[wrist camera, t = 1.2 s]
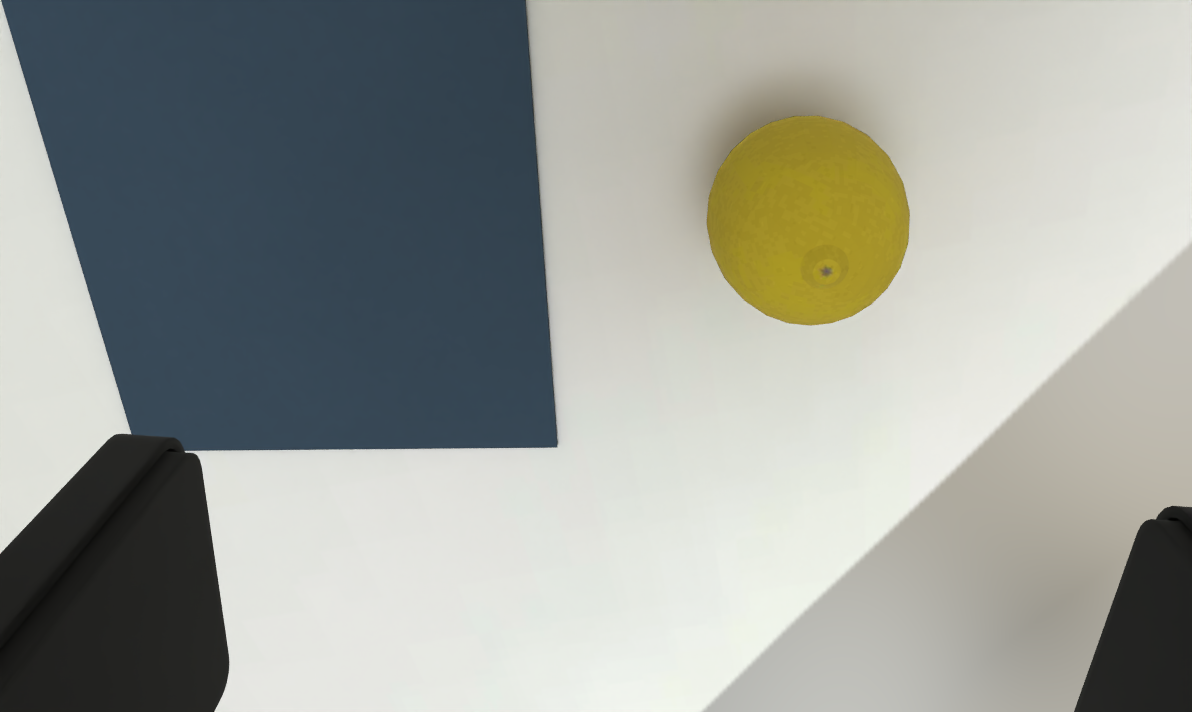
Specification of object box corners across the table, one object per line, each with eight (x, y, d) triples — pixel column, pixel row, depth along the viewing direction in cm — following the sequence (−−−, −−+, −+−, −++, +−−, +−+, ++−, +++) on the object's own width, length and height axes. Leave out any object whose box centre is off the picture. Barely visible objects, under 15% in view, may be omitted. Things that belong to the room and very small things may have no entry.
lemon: (899, 105, 31) (972, 185, 23) (849, 270, 33) (902, 387, 26) (721, 74, 30) (742, 145, 23) (685, 242, 33) (693, 352, 26)
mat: (-37, -138, 29) (-41, -138, 29) (513, -165, 28) (512, -165, 28) (138, 448, 38) (136, 451, 38) (557, 444, 37) (557, 447, 37)
